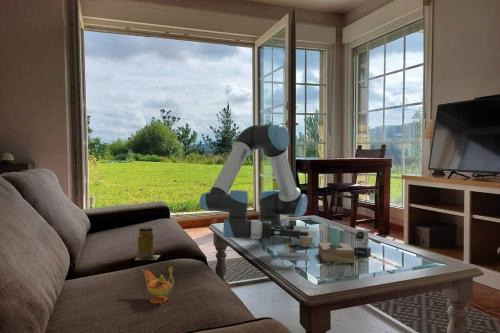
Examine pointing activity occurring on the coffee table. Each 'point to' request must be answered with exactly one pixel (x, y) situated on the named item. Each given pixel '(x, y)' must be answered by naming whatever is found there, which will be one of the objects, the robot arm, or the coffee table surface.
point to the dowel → (334, 237)
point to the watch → (362, 243)
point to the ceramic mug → (303, 241)
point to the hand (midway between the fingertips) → (312, 231)
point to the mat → (293, 256)
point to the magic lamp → (158, 285)
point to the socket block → (336, 253)
